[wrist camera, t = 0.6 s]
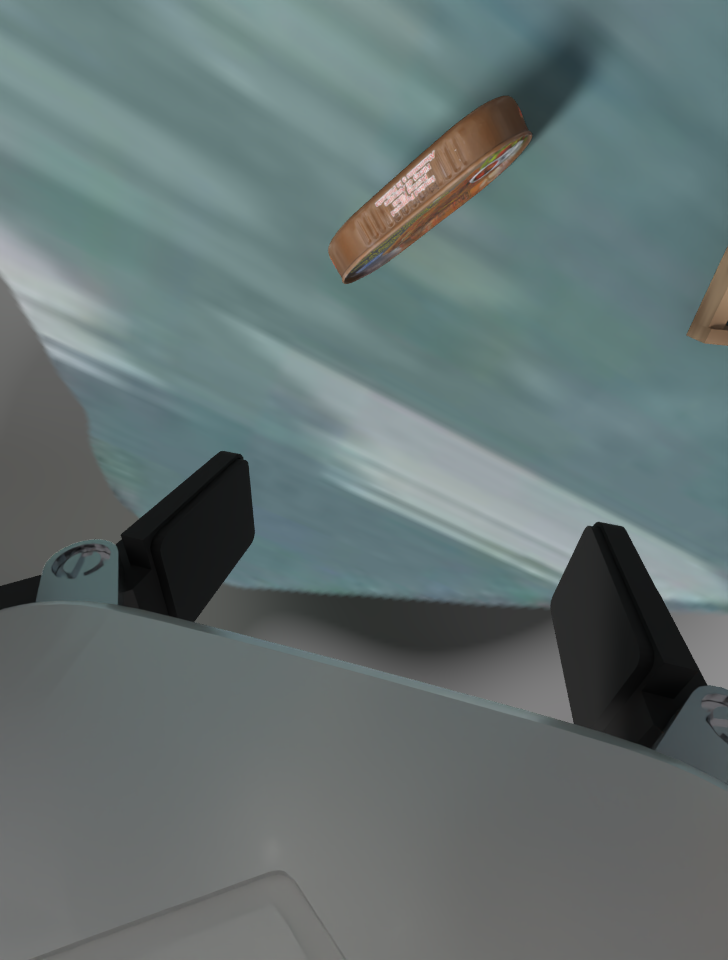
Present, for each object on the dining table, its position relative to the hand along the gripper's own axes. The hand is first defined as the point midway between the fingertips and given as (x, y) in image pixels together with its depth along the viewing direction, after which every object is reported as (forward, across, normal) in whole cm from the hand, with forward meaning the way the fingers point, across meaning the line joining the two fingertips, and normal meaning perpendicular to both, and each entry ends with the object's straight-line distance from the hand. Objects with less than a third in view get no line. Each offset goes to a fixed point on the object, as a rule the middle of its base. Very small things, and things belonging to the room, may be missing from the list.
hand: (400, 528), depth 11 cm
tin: (+30, +4, -9) cm, 31 cm away
